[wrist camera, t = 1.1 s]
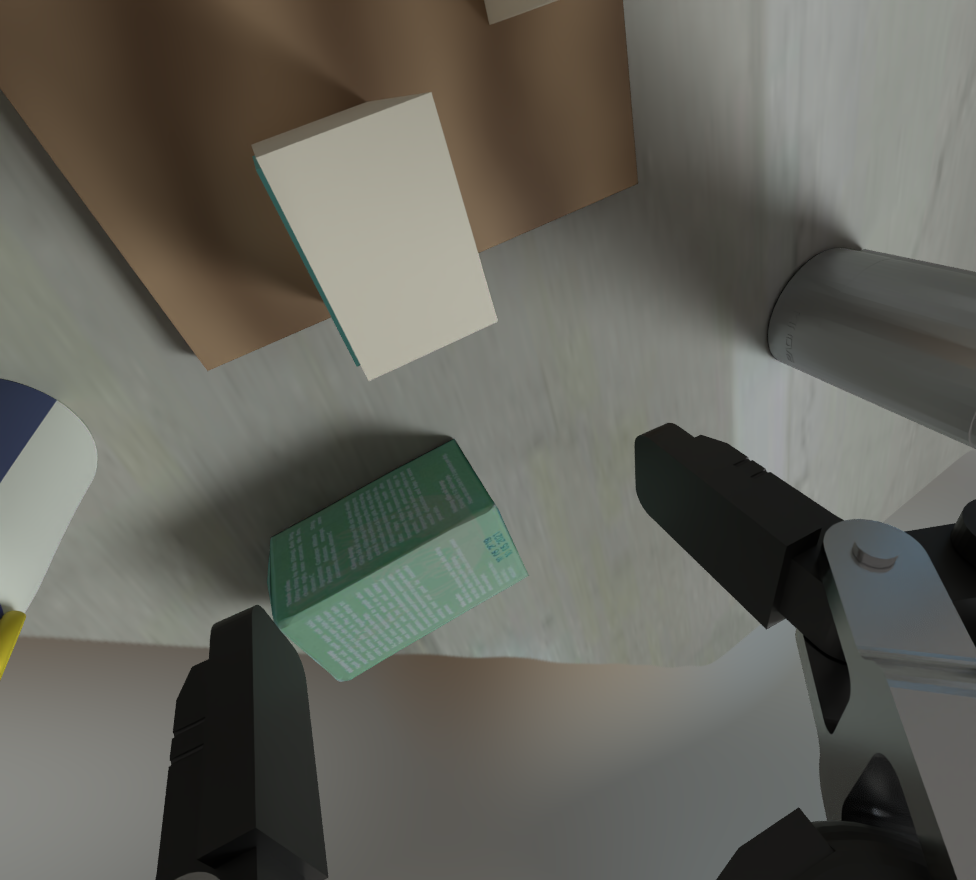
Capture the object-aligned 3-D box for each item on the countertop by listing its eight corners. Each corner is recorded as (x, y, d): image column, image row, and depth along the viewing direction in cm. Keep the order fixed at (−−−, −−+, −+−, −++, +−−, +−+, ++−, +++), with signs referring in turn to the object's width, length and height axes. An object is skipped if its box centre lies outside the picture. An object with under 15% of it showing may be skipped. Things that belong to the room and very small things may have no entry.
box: (261, 539, 31) (267, 636, 25) (452, 432, 33) (499, 501, 27) (323, 600, 36) (340, 694, 30) (488, 504, 37) (534, 576, 31)
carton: (247, 146, 20) (250, 159, 13) (367, 101, 21) (431, 92, 14) (329, 306, 24) (364, 383, 17) (425, 264, 25) (497, 321, 18)
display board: (570, -325, 18) (610, -379, 16) (621, 181, 28) (649, 185, 26) (-154, -146, 14) (-216, -188, 12) (209, 359, 25) (206, 379, 23)
